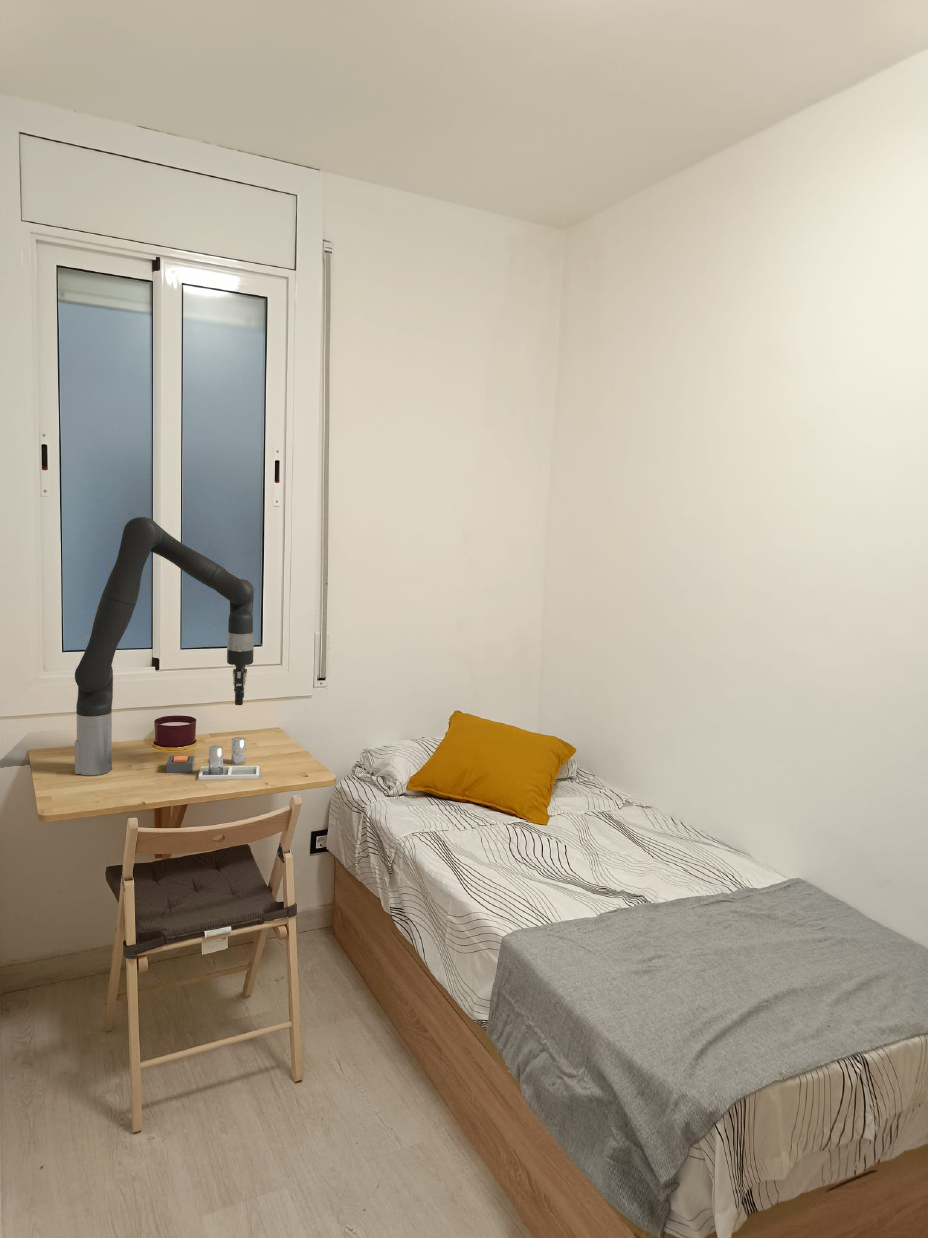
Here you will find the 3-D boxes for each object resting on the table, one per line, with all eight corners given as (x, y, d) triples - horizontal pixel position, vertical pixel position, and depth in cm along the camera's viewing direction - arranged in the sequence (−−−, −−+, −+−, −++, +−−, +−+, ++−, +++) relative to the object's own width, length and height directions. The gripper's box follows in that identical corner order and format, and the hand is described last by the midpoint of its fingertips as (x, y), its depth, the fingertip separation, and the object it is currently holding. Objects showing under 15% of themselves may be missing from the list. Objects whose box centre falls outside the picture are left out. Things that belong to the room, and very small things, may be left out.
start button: (173, 768, 240) (173, 760, 240) (174, 764, 244) (174, 756, 243) (186, 768, 241) (186, 759, 241) (187, 764, 244) (187, 756, 244)
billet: (231, 767, 249) (231, 740, 247) (231, 762, 252) (232, 737, 251) (244, 766, 249) (245, 740, 248) (245, 762, 253) (245, 737, 252)
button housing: (166, 777, 238) (166, 763, 238) (169, 769, 245) (169, 756, 245) (192, 776, 240) (192, 763, 239) (194, 769, 247) (194, 756, 246)
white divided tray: (196, 784, 234) (196, 777, 234) (199, 773, 243) (199, 766, 243) (260, 783, 238) (260, 775, 237) (260, 772, 247) (261, 765, 247)
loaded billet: (207, 777, 237) (208, 749, 236) (208, 772, 241) (209, 745, 240) (222, 776, 238) (222, 749, 237) (223, 772, 242) (223, 745, 241)
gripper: (228, 643, 252) (227, 695, 254) (225, 651, 238) (224, 707, 240) (254, 643, 253) (253, 695, 256) (252, 652, 240) (251, 707, 242)
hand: (239, 701), depth 248 cm, fingers open, 8 cm apart
